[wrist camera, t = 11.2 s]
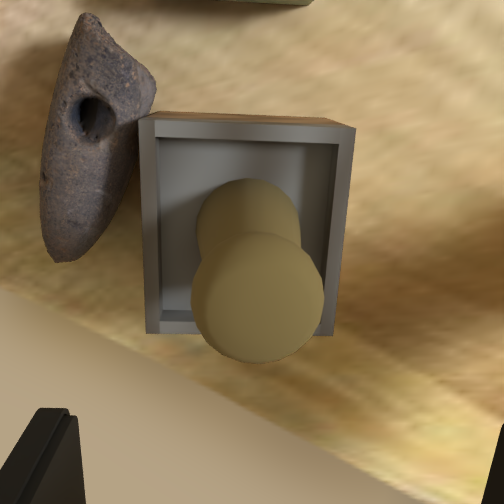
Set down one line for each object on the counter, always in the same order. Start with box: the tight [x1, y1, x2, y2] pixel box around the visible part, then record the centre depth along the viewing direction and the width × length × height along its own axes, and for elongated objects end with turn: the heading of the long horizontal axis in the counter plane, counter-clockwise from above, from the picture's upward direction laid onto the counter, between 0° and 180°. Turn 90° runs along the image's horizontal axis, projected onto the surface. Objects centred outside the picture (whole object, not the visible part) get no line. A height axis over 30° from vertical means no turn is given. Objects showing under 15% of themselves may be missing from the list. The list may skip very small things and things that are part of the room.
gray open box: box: [138, 111, 356, 336], centre depth 30 cm, size 11×12×8 cm
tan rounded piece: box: [190, 178, 324, 364], centre depth 22 cm, size 6×6×11 cm
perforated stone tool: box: [39, 13, 157, 263], centre depth 29 cm, size 15×5×7 cm, turn 158°
